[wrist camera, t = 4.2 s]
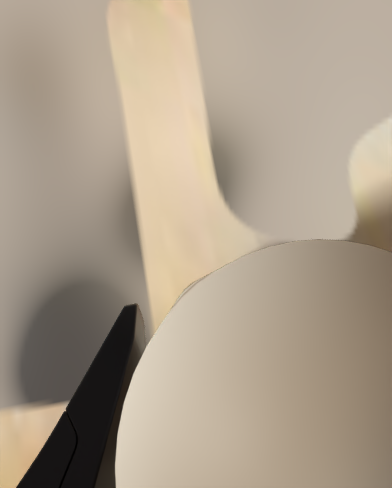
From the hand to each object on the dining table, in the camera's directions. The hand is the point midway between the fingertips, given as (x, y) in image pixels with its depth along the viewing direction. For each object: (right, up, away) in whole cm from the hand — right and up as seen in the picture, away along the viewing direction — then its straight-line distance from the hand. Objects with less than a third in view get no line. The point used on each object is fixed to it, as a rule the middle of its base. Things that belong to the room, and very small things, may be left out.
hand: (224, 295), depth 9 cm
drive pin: (0, -2, +7) cm, 8 cm away
